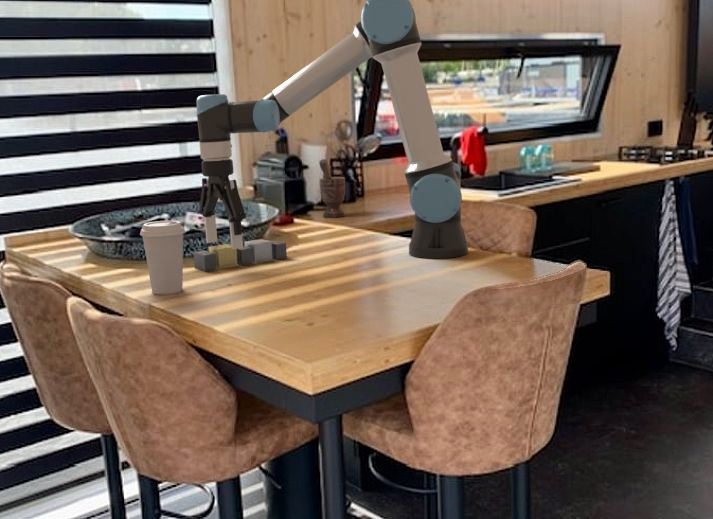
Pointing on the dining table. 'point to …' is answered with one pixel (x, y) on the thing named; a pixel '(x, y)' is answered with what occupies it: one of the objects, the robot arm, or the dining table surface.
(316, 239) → the dining table surface
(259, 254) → the light gray cube
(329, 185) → the mortar and pestle
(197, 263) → the dark grey cubes
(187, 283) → the dining table surface
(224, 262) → the yellow cube
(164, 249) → the coffee cup
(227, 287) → the dining table surface
